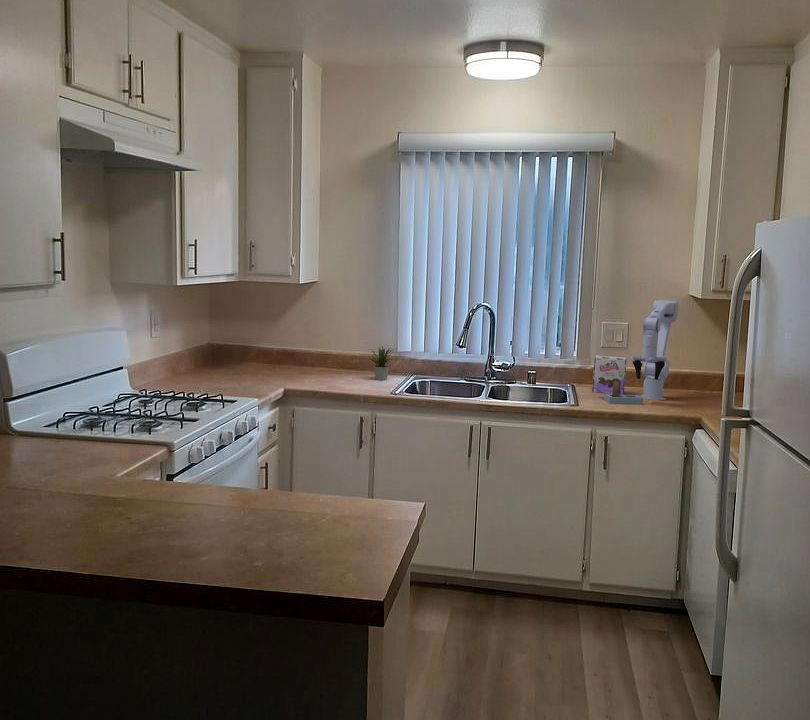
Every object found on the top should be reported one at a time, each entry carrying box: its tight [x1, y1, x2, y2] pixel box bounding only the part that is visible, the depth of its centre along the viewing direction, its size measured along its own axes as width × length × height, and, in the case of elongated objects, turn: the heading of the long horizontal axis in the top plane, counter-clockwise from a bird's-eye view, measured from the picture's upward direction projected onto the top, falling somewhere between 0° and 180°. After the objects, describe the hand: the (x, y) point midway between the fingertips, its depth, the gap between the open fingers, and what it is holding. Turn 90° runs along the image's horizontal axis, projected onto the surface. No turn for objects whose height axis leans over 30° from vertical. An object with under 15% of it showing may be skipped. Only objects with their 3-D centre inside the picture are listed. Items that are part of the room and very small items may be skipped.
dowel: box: [612, 381, 621, 397], centre depth 335 cm, size 3×3×9 cm
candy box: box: [591, 354, 628, 395], centre depth 358 cm, size 14×6×16 cm, turn 73°
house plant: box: [369, 345, 395, 381], centre depth 372 cm, size 14×14×16 cm
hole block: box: [603, 393, 644, 405], centre depth 336 cm, size 7×14×3 cm, turn 94°
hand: (647, 379), depth 336 cm, fingers open, 7 cm apart
